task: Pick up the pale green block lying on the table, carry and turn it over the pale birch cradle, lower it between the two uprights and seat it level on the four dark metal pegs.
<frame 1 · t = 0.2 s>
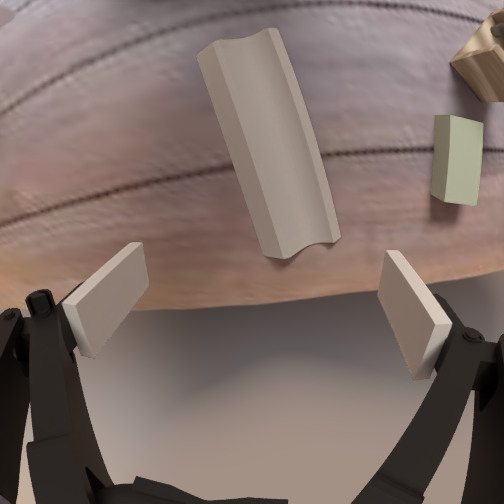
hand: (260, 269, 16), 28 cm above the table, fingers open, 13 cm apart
pale green block: (449, 157, 37), on the table
frame: (488, 54, 28), on the table
crown molding: (270, 142, 40), on the table
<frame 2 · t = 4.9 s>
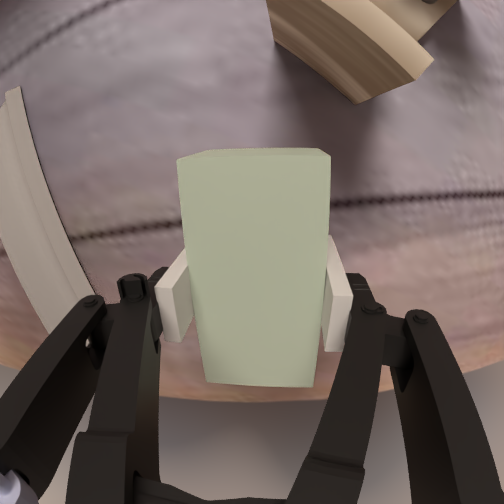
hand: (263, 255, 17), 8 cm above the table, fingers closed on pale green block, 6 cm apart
pale green block: (264, 251, 18), point 7 cm above the table, touching gripper
frame: (378, 8, 17), on the table
crown molding: (34, 227, 29), on the table
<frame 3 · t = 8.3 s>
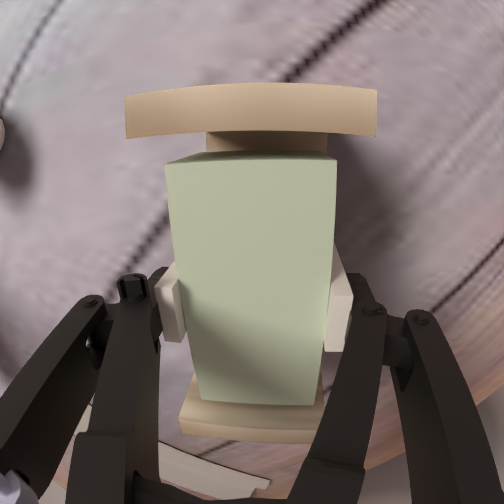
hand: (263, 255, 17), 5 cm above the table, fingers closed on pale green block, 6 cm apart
pale green block: (262, 261, 17), point 6 cm above the table, touching frame, gripper
frame: (266, 226, 22), on the table
crown molding: (168, 456, 40), on the table
when the fingers open (5 cm above the table, at t = 8.5 s): pale green block stays where it is, resting on frame.
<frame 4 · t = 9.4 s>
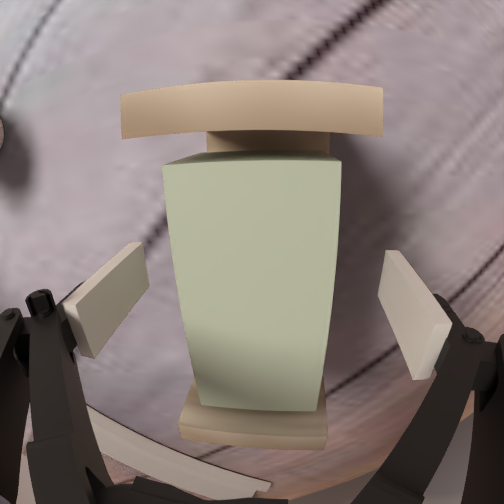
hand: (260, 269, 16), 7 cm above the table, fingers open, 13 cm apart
pale green block: (263, 264, 16), point 6 cm above the table, touching frame
frame: (268, 228, 22), on the table
crown molding: (170, 458, 40), on the table
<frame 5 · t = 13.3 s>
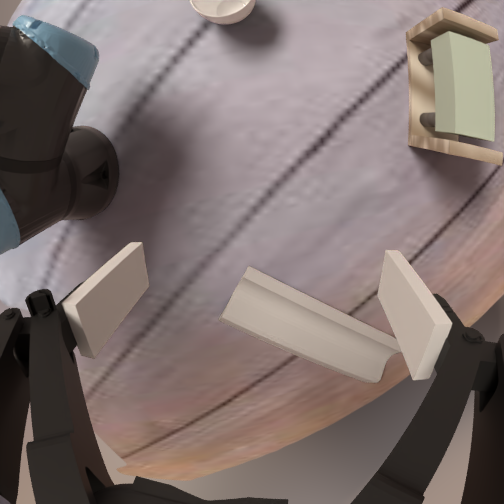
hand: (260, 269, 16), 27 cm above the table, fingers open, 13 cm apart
pale green block: (454, 88, 27), point 6 cm above the table, touching frame
frame: (433, 91, 32), on the table
cup: (223, 8, 31), on the table
crown molding: (315, 331, 50), on the table
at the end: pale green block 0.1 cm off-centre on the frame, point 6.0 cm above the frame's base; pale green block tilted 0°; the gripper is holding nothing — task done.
